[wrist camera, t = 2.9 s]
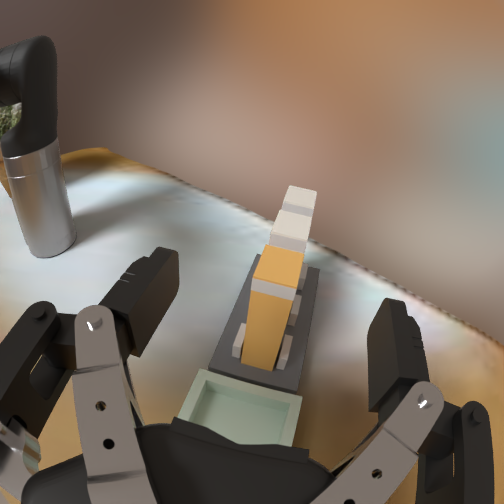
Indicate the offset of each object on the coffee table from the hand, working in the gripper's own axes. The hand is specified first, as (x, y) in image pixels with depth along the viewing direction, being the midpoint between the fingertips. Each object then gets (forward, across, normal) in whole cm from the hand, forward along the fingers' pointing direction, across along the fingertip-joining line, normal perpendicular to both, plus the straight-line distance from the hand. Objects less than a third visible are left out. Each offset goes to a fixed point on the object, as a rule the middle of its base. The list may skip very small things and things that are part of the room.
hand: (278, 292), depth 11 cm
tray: (+1, -1, -21) cm, 21 cm away
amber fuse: (+11, 0, -18) cm, 21 cm away
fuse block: (+17, 0, -20) cm, 26 cm away
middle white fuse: (+17, 0, -18) cm, 24 cm away
